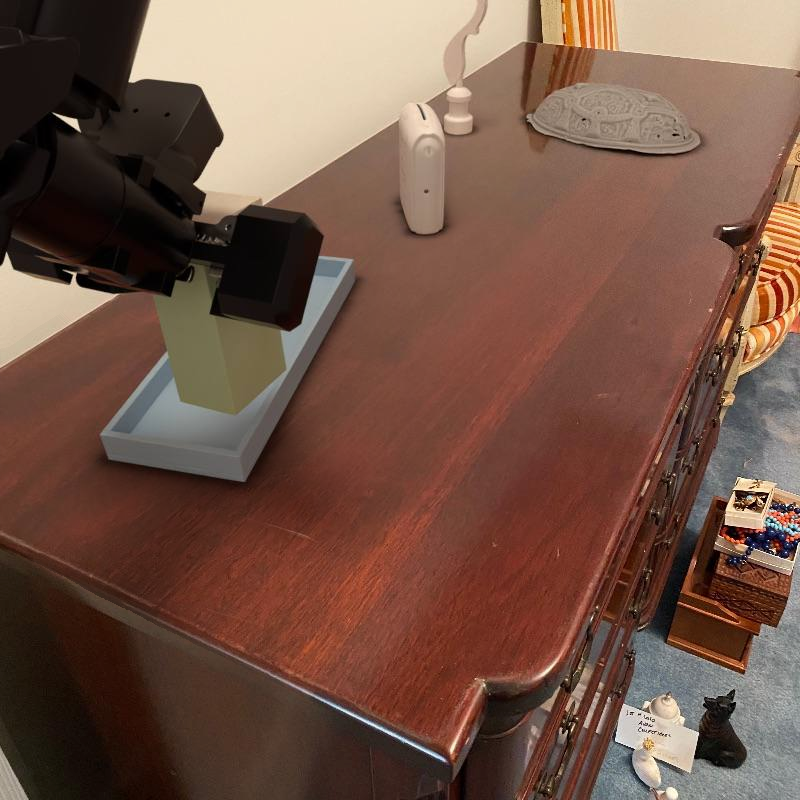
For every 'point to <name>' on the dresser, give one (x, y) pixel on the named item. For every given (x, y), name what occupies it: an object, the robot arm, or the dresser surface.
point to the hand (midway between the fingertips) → (229, 286)
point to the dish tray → (215, 431)
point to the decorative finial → (460, 75)
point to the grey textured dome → (614, 119)
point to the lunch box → (216, 334)
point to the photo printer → (422, 168)
